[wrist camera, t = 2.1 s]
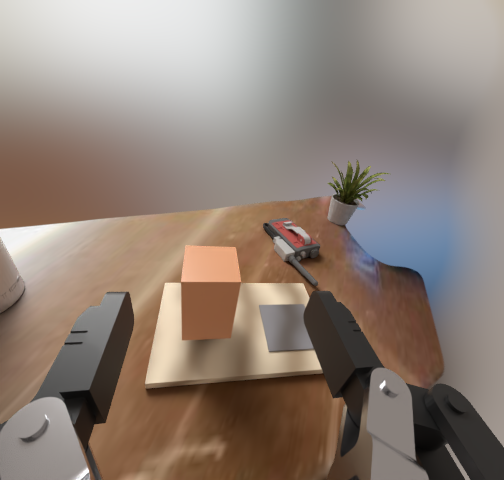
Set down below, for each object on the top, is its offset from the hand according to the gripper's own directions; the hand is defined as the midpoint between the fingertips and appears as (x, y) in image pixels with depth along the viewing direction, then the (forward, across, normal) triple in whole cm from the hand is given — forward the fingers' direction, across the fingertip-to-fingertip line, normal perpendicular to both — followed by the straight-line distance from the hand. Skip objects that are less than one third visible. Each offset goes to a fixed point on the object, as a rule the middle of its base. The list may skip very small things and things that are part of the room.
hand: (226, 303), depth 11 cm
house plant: (+43, -36, +19) cm, 59 cm away
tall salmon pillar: (+11, 0, +16) cm, 20 cm away
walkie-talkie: (+30, -18, +20) cm, 40 cm away
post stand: (+12, -5, +19) cm, 23 cm away
